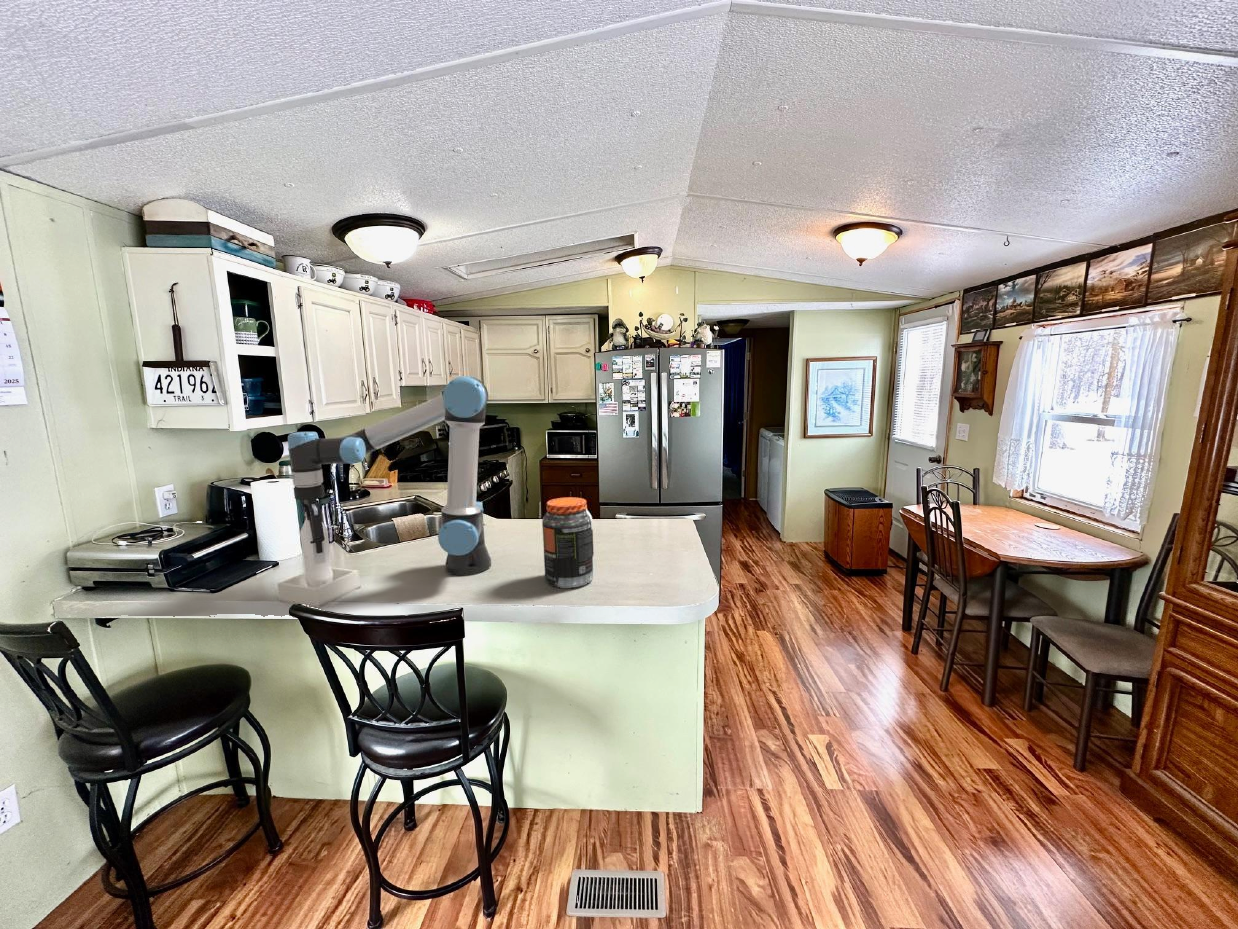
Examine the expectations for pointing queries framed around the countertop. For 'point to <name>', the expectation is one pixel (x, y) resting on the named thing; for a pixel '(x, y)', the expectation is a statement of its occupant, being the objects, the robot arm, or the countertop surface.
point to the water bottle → (314, 572)
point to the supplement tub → (568, 543)
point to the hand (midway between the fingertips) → (317, 559)
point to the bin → (319, 588)
